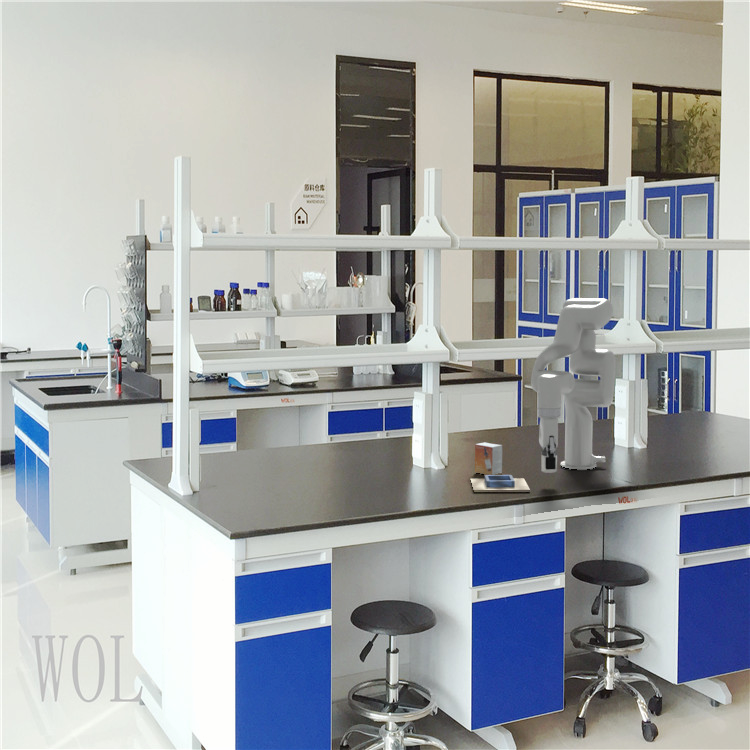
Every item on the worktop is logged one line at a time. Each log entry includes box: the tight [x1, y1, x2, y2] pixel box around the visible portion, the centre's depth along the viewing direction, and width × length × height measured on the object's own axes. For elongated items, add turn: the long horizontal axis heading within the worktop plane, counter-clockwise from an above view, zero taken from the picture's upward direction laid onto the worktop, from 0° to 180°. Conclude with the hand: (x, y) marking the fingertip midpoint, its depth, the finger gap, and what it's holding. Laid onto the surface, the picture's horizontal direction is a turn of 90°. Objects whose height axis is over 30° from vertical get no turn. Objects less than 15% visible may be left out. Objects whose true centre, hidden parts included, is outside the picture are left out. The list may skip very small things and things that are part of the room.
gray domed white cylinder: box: [540, 448, 558, 474], centre depth 323 cm, size 5×5×7 cm
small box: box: [474, 441, 503, 475], centre depth 342 cm, size 8×6×10 cm
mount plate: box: [469, 474, 531, 491], centre depth 324 cm, size 18×16×3 cm
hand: (549, 466), depth 323 cm, fingers closed on gray domed white cylinder, 5 cm apart
